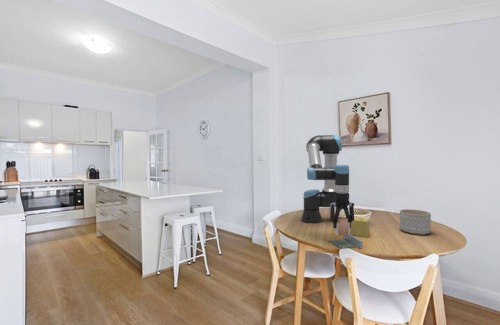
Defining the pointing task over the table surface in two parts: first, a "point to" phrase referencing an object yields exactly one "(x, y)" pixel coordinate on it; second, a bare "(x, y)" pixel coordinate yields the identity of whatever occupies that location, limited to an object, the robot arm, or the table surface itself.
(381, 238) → the table surface
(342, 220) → the pink rounded cylinder
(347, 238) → the divider wall
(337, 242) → the mat
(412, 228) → the planter
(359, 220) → the cheese
